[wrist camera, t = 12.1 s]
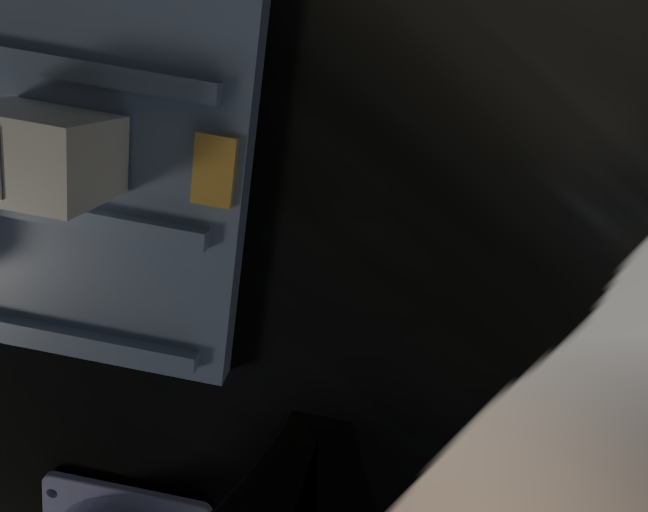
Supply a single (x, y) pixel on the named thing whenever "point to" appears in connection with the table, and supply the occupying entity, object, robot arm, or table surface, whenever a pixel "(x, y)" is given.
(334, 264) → the table surface
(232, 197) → the switch bank
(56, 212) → the gray block
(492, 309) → the table surface
